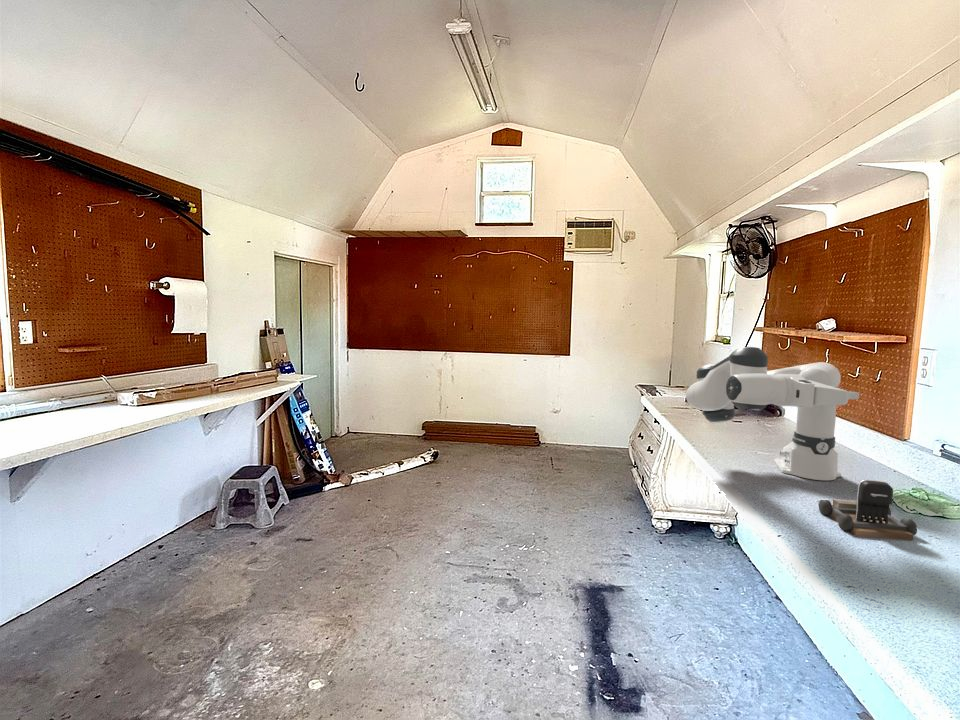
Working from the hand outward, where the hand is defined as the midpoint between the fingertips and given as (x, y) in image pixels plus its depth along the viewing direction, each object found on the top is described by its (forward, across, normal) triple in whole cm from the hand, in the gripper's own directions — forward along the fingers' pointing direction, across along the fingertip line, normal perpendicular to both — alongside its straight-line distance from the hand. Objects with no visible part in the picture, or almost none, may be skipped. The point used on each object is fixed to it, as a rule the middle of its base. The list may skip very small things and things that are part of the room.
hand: (847, 392), depth 135 cm
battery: (+5, +8, -34) cm, 35 cm away
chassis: (+5, +4, -35) cm, 36 cm away
